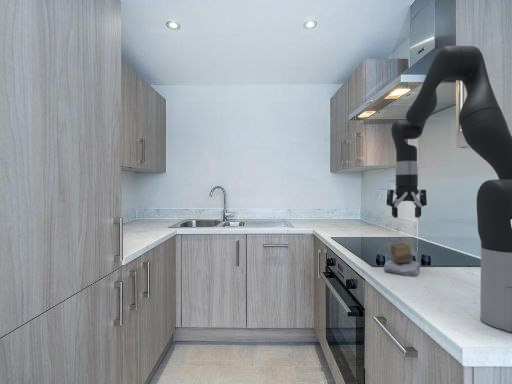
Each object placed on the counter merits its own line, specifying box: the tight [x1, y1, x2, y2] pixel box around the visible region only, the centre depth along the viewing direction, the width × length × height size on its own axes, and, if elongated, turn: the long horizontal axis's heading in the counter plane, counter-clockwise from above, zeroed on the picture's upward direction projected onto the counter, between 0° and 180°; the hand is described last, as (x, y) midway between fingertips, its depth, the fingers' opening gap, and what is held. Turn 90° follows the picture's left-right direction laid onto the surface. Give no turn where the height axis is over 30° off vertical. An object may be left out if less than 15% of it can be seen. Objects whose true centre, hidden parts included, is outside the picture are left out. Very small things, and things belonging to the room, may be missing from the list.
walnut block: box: [389, 242, 413, 263], centre depth 121 cm, size 5×5×6 cm
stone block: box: [383, 259, 421, 277], centre depth 120 cm, size 12×5×10 cm
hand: (406, 217), depth 121 cm, fingers open, 8 cm apart
